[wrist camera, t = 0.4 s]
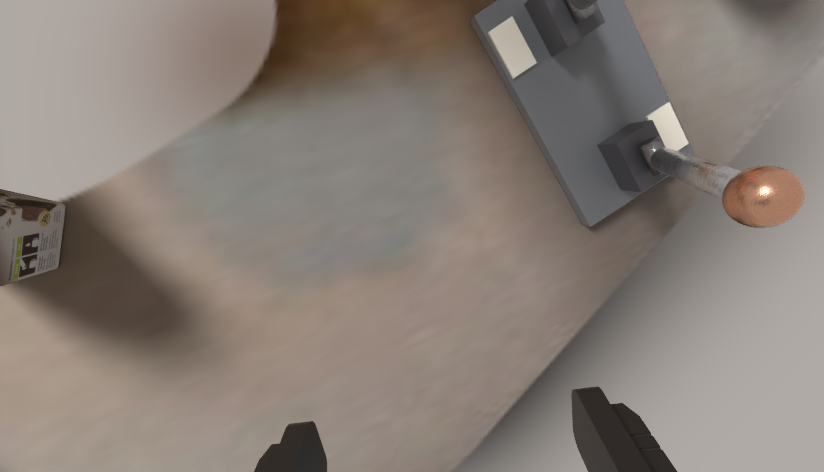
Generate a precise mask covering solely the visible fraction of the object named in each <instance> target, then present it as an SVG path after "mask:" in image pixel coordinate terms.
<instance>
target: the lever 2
mask: <svg viewBox="0 0 824 472" xmlns="http://www.w3.org/2000/svg"><path fill="white" fill-rule="evenodd" d="M638 147H639V149H640V151H641V153H642V155H643V157H644V159H645V161H646V163H647V165H648V167H649V169H650V171H651V173H652V175H653V176H658V175H662V174H667V175H669V176H672V177H674V178H676V179H678V180H680V181H683V182H685V183H687V184H689V185H691V186H694V187H696V188H698V189H700V190H702V191H704V192H707V193H709V194H711V195H713V196H715V197H718V198H720V199H722V203H723V206H724V209H725V211H726V212H727V214H728V215H729V216H730V217H731V218H732V219H733V220H735V221H737V222H738V223H740V224H743V225H746V226H750V227H756V228H765V227H772V226H776V225H779V224H782V223H784V222H786V221H788V220H790V219H791V218H792V217H794V216H795V215H796V214H797V213H798V211H800V209H801V208H802V206H803V203H804V200H805V189H804V186H803V184H802V182H801V181H800V179H799V178H798V177H797V176H796V175H795V174H793V173H792V172H790V171H788V170H786V169H783V168H780V167H776V166H756V167H752V168H749V169H746V170H744V171H739V170H736V169H733V168H730V167H727V166H724V165H720V164H717V163H714V162H711V161H708V160H704V159H701V158H698V157H695V156H692V155H688V154H685V153H682V152H679V151H676V150H672V149H669V148H664V146H663V144H662V142H661V140H660V137H653V138H650V139H648V140H646V141H644V142H642V143H641V144H640V145H639V146H638Z"/></svg>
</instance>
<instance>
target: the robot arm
mask: <svg viewBox="0 0 824 472" xmlns="http://www.w3.org/2000/svg"><path fill="white" fill-rule="evenodd" d="M572 415H573V416H572V417H573V432H574V437H575V440H576V444H577V447H578V450H579V452H580V454H581V456H582V459H583V461H584V463H585V465H586V468H587V470H588V472H677V471H676V469H675V468H674V466H673V465H672V463H671V462H670V460H669V459H668V457H667V456H666V455H665V453H664V452H663V450H661V449H660V446H659V444H658V443H657V441H656V440H655V438H654V437H653V436H651V433H650V431H649V430H648V428H647V427H646V425H645V424H644V422H643V421H642V420H641V418H640V416H638V415H637V414H636V413H635V412H633V411H632V410H630V409H629V408H628V407H627V406H625V405H624V404H623V403H619V404H610V403H609V401H608V400H607V398H606V396H605V395H604V393H603V391H602V390H601V389H600V388H599V387H591V388H582V389H575V390H572ZM254 472H327V459H326V455H325V452H324V449H323V446H322V443H321V440H320V437H319V434H318V431H317V428H316V425H315V423H314V422H313V421H310V422H302V423H294V424H289V425H288V426H287V427H286V429H285V432H284V434H283V437H282V439H281V442H280V444H272V445H271V446H270V447H269V449H268V450H267V451H266V452H265V454H264V455H263V456H262V457H261V458H260V460H259V462H258V464H257V466H256V469H255V471H254Z"/></svg>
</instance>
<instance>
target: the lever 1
mask: <svg viewBox="0 0 824 472" xmlns="http://www.w3.org/2000/svg"><path fill="white" fill-rule="evenodd" d="M566 1H567V3H568V5H569V7H570V9H571V11H572V13H573V16H574V18H575V20H576V22H577V24H578V23H580V22H581V21H583V20H584V19H586V18H587V17H589V16H590V15H592V14H593V13H595V12H596V11H598V8H597V6H596V4H595V3H596V2H597V1H598V0H566Z"/></svg>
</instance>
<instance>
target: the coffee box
mask: <svg viewBox="0 0 824 472" xmlns="http://www.w3.org/2000/svg"><path fill="white" fill-rule="evenodd" d="M65 208H66V207H65V205H64V204H63V203H60V202H56V201H51V200H47V199H42V198H38V197H33V196H29V195H24V194H19V193H15V192H11V191H6V190H1V189H0V286H3V285H6V284H9V283H12V282H16V281H19V280H22V279H25V278H28V277H31V276H34V275H38V274H41V273H44V272H47V271H51V270H54V269H57V268H58V265H59V258H60V249H61V242H62V234H63V226H64V217H65Z"/></svg>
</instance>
